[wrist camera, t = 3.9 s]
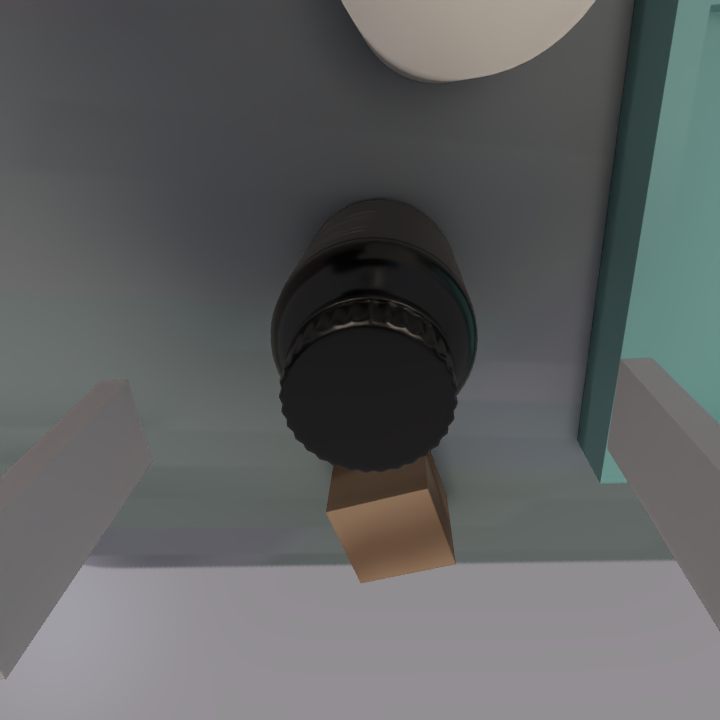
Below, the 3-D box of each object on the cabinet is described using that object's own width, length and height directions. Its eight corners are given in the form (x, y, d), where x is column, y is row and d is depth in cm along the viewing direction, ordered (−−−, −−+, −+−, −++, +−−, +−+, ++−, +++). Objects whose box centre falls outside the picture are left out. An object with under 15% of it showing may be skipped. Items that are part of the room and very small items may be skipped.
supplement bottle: (483, 278, 24) (552, 423, 14) (372, 361, 27) (357, 541, 16) (388, 159, 22) (382, 222, 12) (276, 261, 25) (186, 391, 14)
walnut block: (336, 448, 29) (326, 512, 25) (422, 427, 28) (427, 488, 24) (365, 514, 32) (360, 583, 27) (446, 495, 31) (455, 564, 26)
